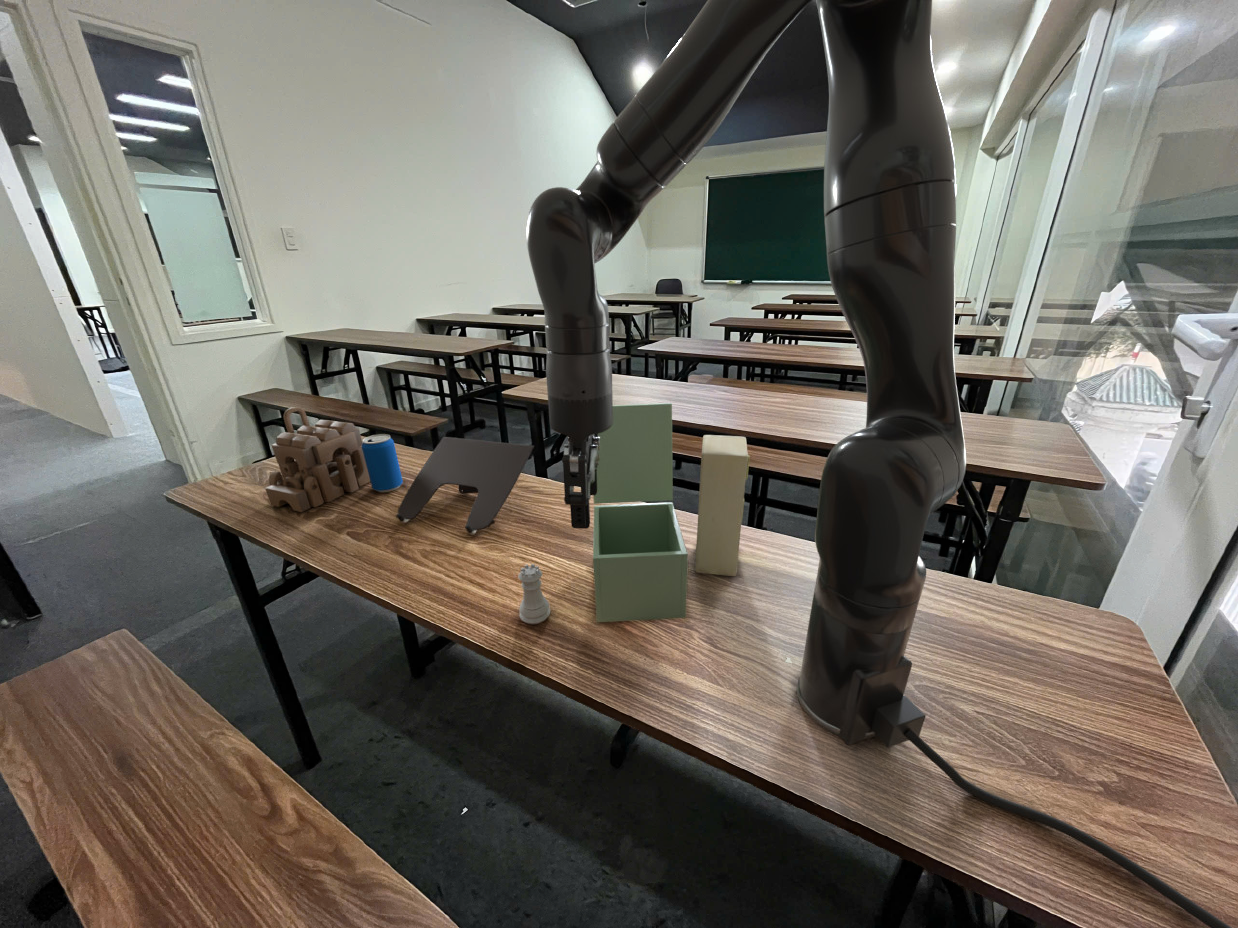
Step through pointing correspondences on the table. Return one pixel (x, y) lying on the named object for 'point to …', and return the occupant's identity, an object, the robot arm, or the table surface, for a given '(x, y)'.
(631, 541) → the chest
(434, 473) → the laptop tray
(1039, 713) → the table surface
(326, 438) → the wooden puzzle
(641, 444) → the lid
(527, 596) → the rook chess piece
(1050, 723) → the table surface
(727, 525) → the toy refrigerator
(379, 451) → the beverage can
